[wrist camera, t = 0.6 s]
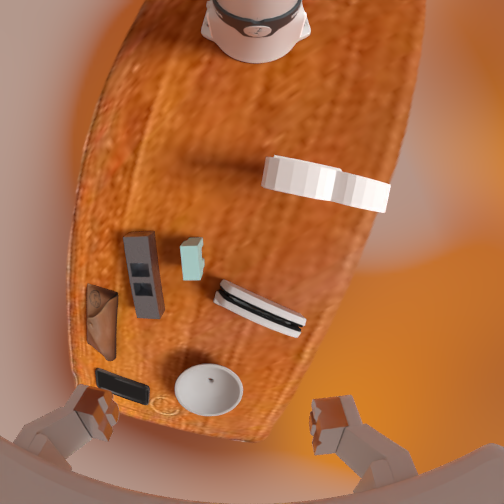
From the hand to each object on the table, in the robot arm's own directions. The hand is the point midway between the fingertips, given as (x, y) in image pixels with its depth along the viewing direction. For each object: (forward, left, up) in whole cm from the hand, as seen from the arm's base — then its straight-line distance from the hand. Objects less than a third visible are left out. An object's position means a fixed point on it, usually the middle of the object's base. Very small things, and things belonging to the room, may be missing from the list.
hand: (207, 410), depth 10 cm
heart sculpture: (-6, +11, -41) cm, 43 cm away
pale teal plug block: (+7, -8, -41) cm, 42 cm away
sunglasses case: (+23, -32, -41) cm, 57 cm away
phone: (+43, -32, -41) cm, 68 cm away
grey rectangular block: (+11, -18, -41) cm, 46 cm away
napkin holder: (+17, +3, -41) cm, 45 cm away
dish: (+37, -8, -41) cm, 56 cm away
